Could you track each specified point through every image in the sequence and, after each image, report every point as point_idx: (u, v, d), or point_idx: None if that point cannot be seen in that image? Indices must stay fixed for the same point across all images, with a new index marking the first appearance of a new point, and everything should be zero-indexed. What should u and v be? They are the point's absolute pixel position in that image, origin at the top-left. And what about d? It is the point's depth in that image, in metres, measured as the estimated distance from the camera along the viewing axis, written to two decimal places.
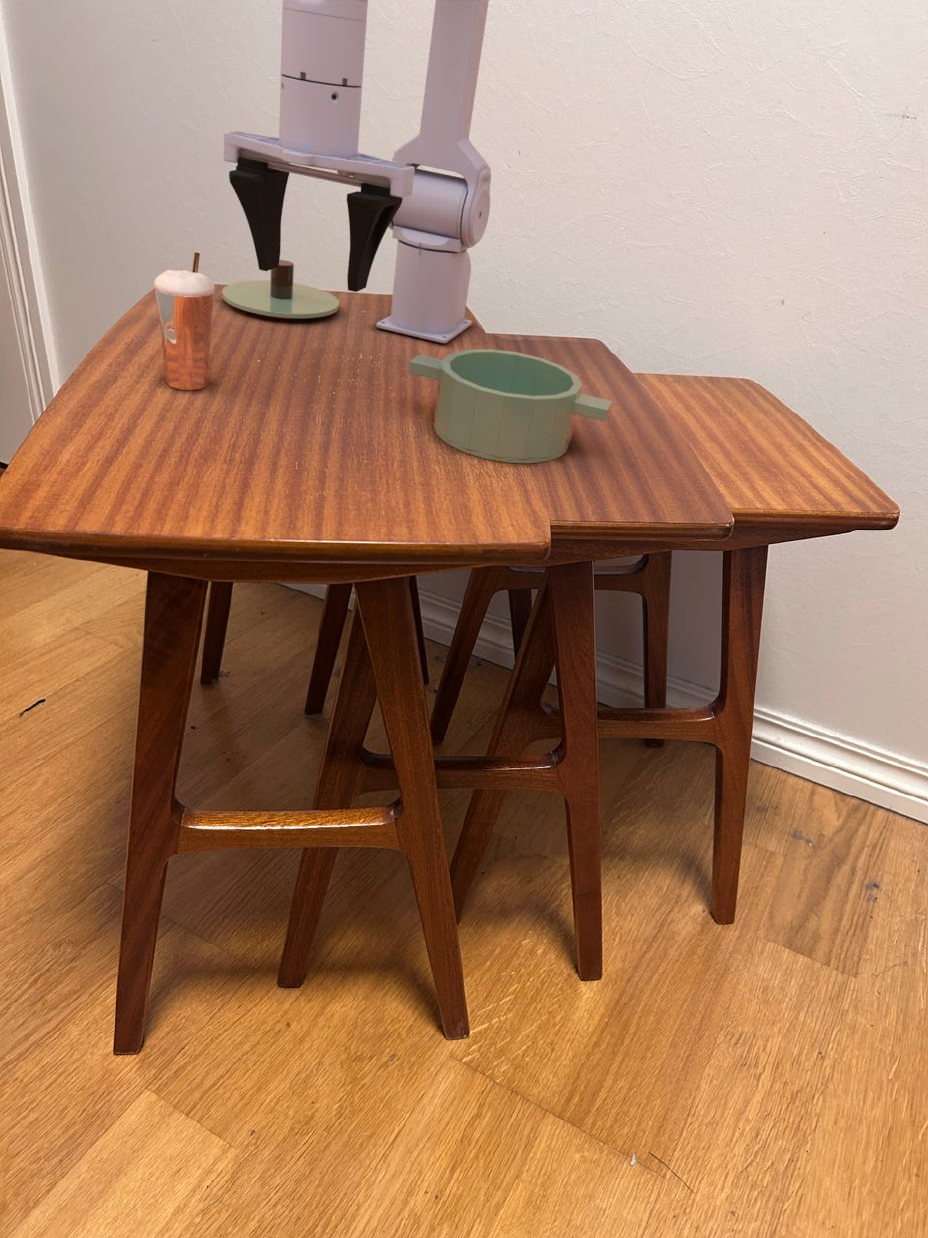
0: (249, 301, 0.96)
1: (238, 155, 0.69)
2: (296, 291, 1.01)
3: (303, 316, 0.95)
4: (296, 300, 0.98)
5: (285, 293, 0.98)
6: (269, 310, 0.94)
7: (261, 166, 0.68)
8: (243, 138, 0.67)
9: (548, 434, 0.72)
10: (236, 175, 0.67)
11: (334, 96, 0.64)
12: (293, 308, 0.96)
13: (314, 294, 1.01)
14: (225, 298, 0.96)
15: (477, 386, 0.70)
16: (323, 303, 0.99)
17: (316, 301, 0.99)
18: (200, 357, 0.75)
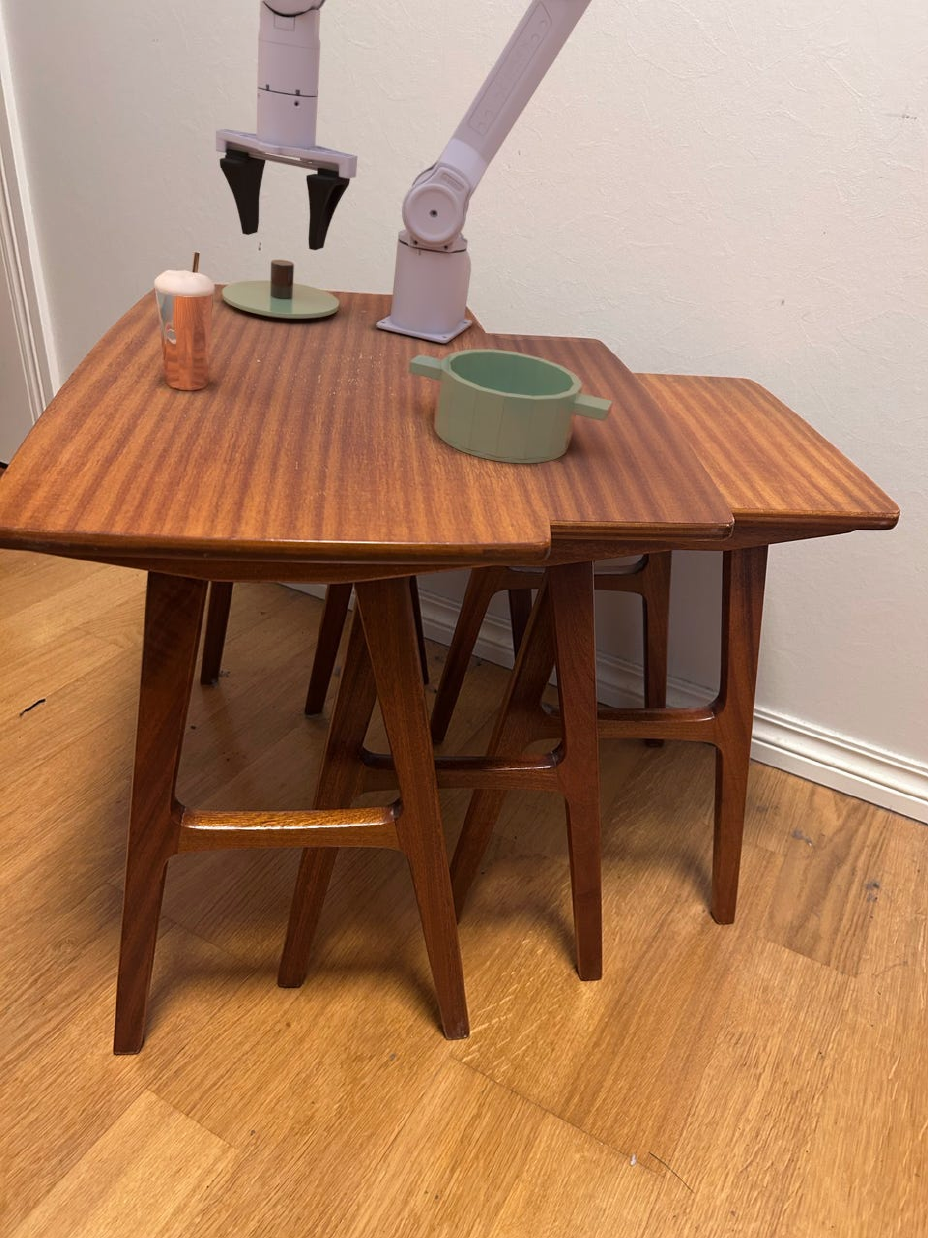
0: (249, 301, 0.96)
1: (226, 147, 0.92)
2: (296, 291, 1.01)
3: (303, 316, 0.95)
4: (296, 300, 0.98)
5: (285, 293, 0.98)
6: (269, 310, 0.94)
7: (243, 155, 0.92)
8: (230, 134, 0.91)
9: (548, 434, 0.72)
10: (225, 161, 0.91)
11: (296, 103, 0.87)
12: (293, 308, 0.96)
13: (314, 294, 1.01)
14: (225, 298, 0.96)
15: (477, 386, 0.70)
16: (323, 303, 0.99)
17: (316, 301, 0.99)
18: (200, 357, 0.75)
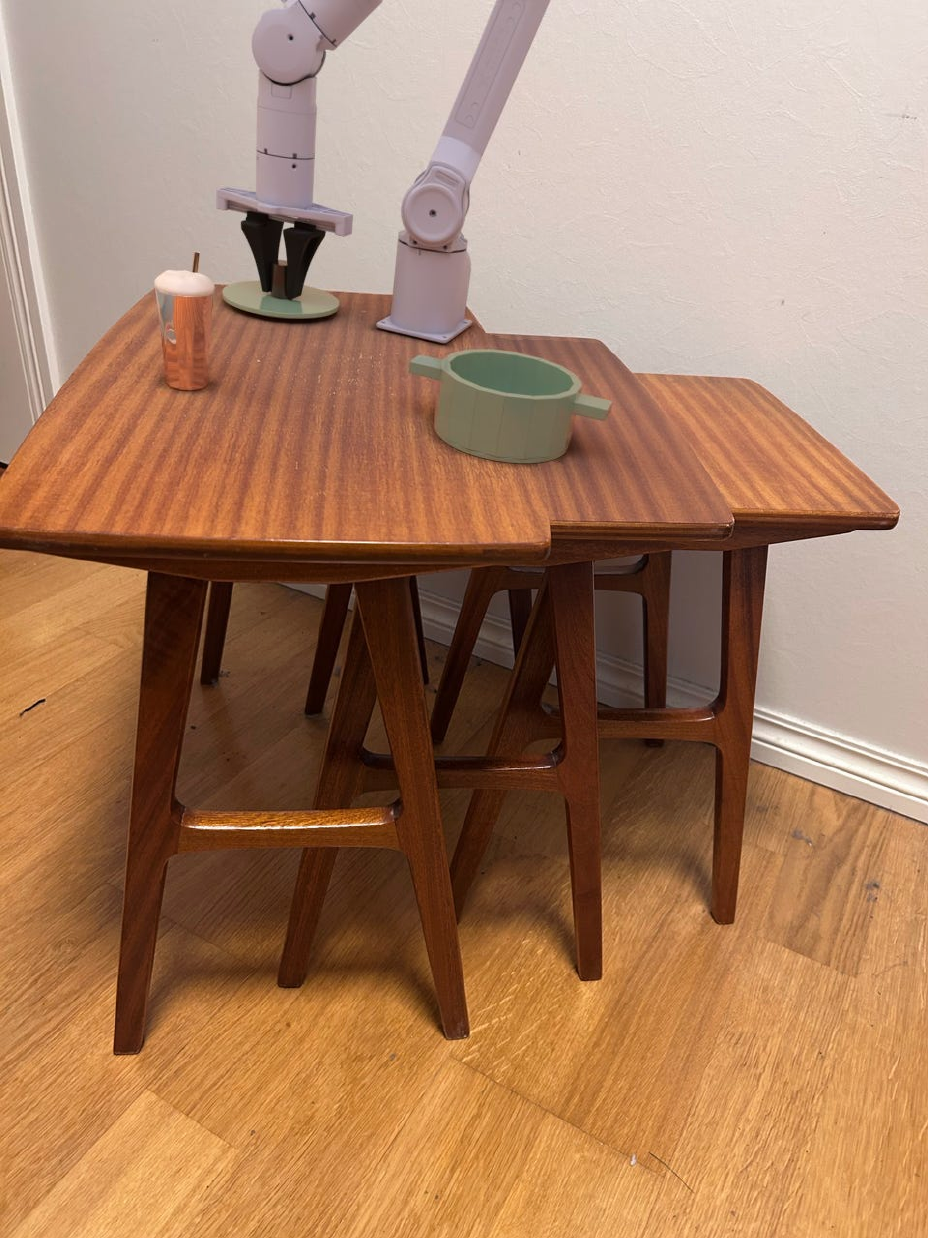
0: (249, 301, 0.96)
1: (227, 204, 0.95)
2: None
3: (303, 316, 0.95)
4: (296, 300, 0.98)
5: (285, 293, 0.98)
6: (269, 310, 0.94)
7: (264, 217, 0.94)
8: (230, 193, 0.94)
9: (548, 434, 0.72)
10: (246, 224, 0.93)
11: (294, 166, 0.90)
12: (293, 308, 0.96)
13: (314, 294, 1.01)
14: (225, 298, 0.96)
15: (477, 386, 0.70)
16: (323, 303, 0.99)
17: (316, 301, 0.99)
18: (200, 357, 0.75)
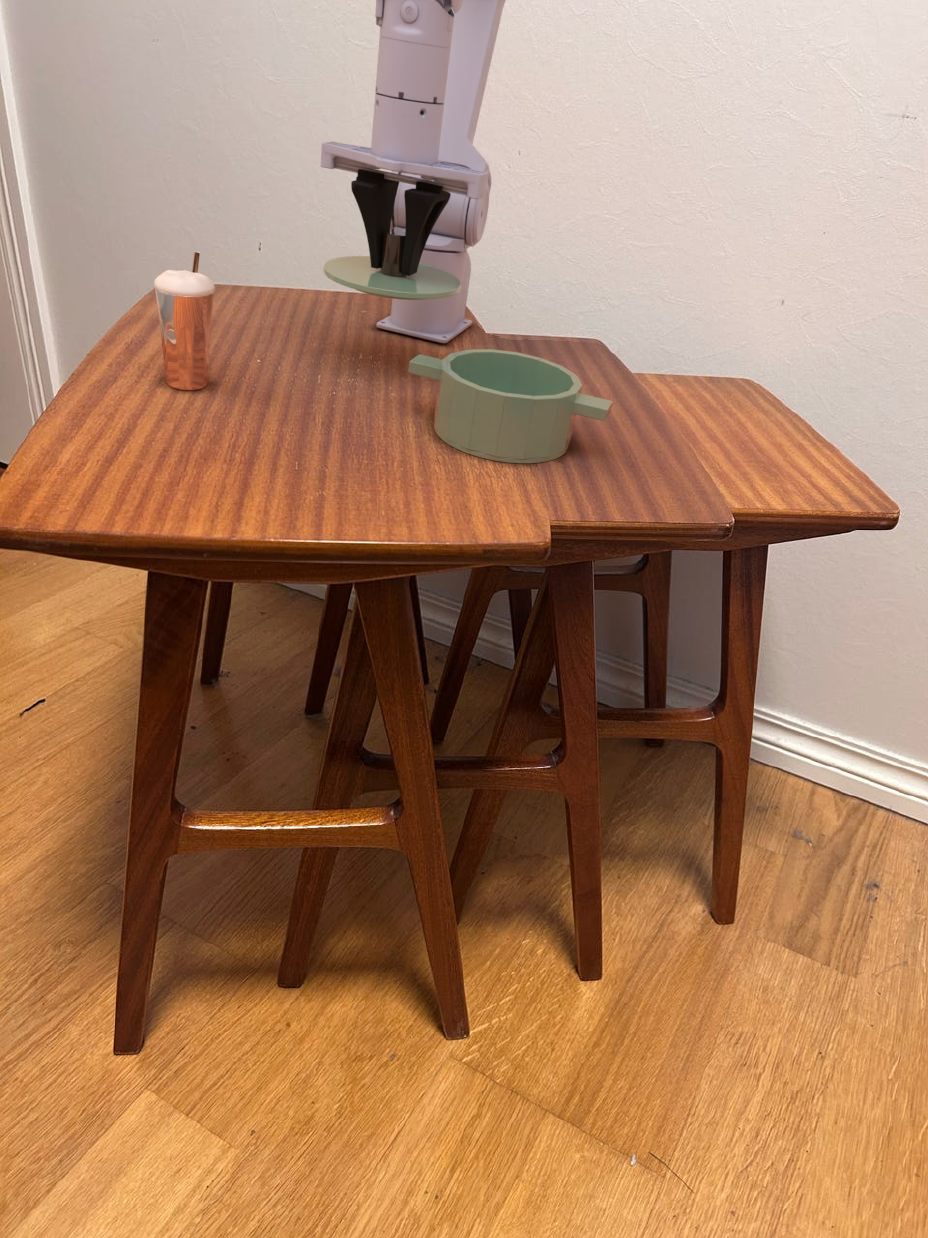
0: (359, 278, 0.79)
1: (333, 162, 0.79)
2: None
3: (424, 296, 0.79)
4: (411, 278, 0.82)
5: (399, 269, 0.82)
6: (385, 288, 0.78)
7: (379, 177, 0.78)
8: (339, 147, 0.78)
9: (548, 434, 0.72)
10: (358, 185, 0.77)
11: (422, 112, 0.74)
12: (411, 287, 0.80)
13: (429, 272, 0.85)
14: (329, 275, 0.80)
15: (477, 386, 0.70)
16: (443, 282, 0.83)
17: (434, 279, 0.83)
18: (200, 357, 0.75)
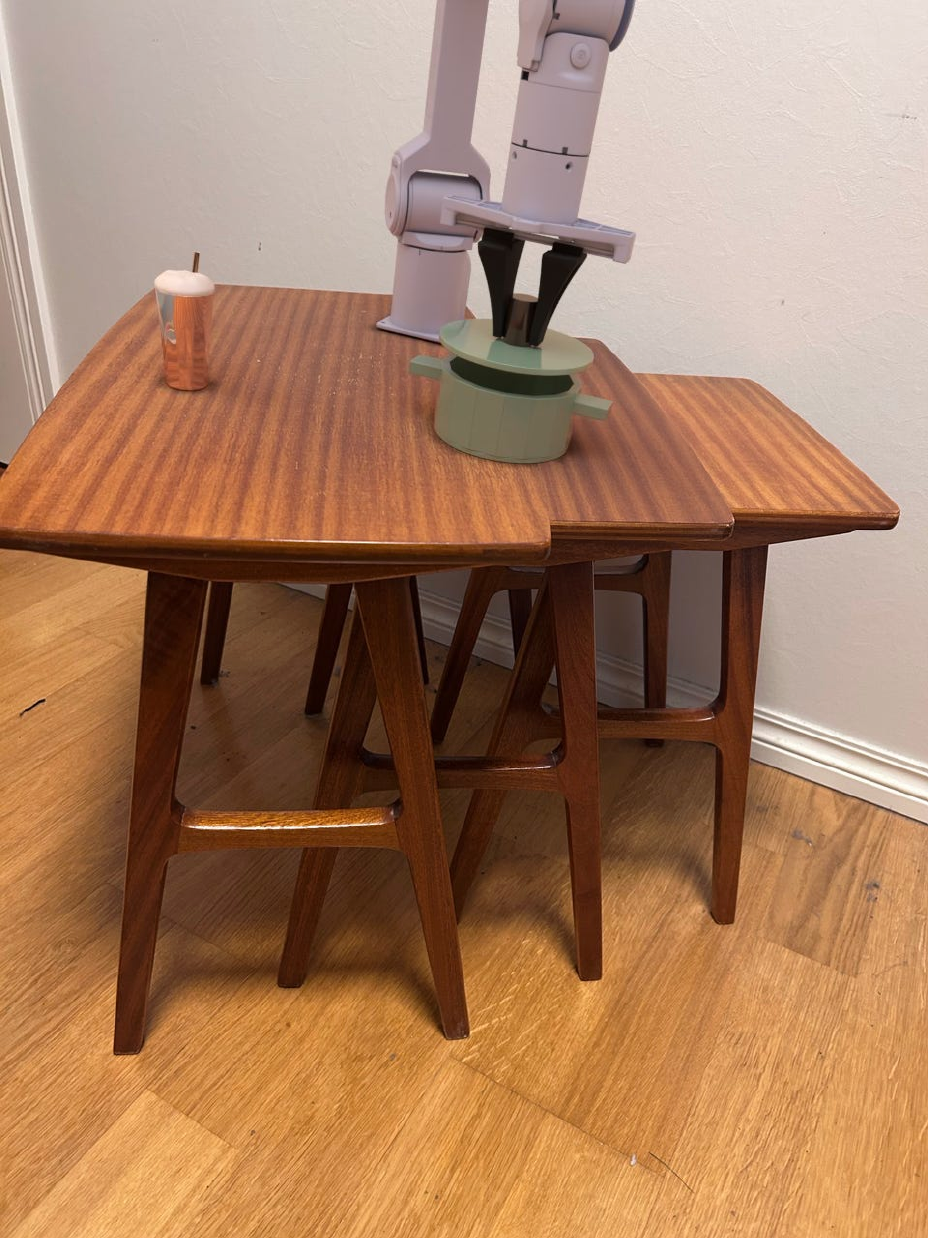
0: (484, 351, 0.70)
1: (455, 219, 0.69)
2: None
3: (561, 372, 0.69)
4: (539, 348, 0.72)
5: (526, 339, 0.72)
6: (517, 365, 0.68)
7: (508, 237, 0.68)
8: (463, 203, 0.68)
9: (548, 434, 0.72)
10: (487, 247, 0.67)
11: (566, 165, 0.64)
12: (544, 361, 0.70)
13: (553, 338, 0.75)
14: (450, 347, 0.70)
15: (477, 386, 0.70)
16: (574, 352, 0.73)
17: (563, 349, 0.73)
18: (200, 357, 0.75)
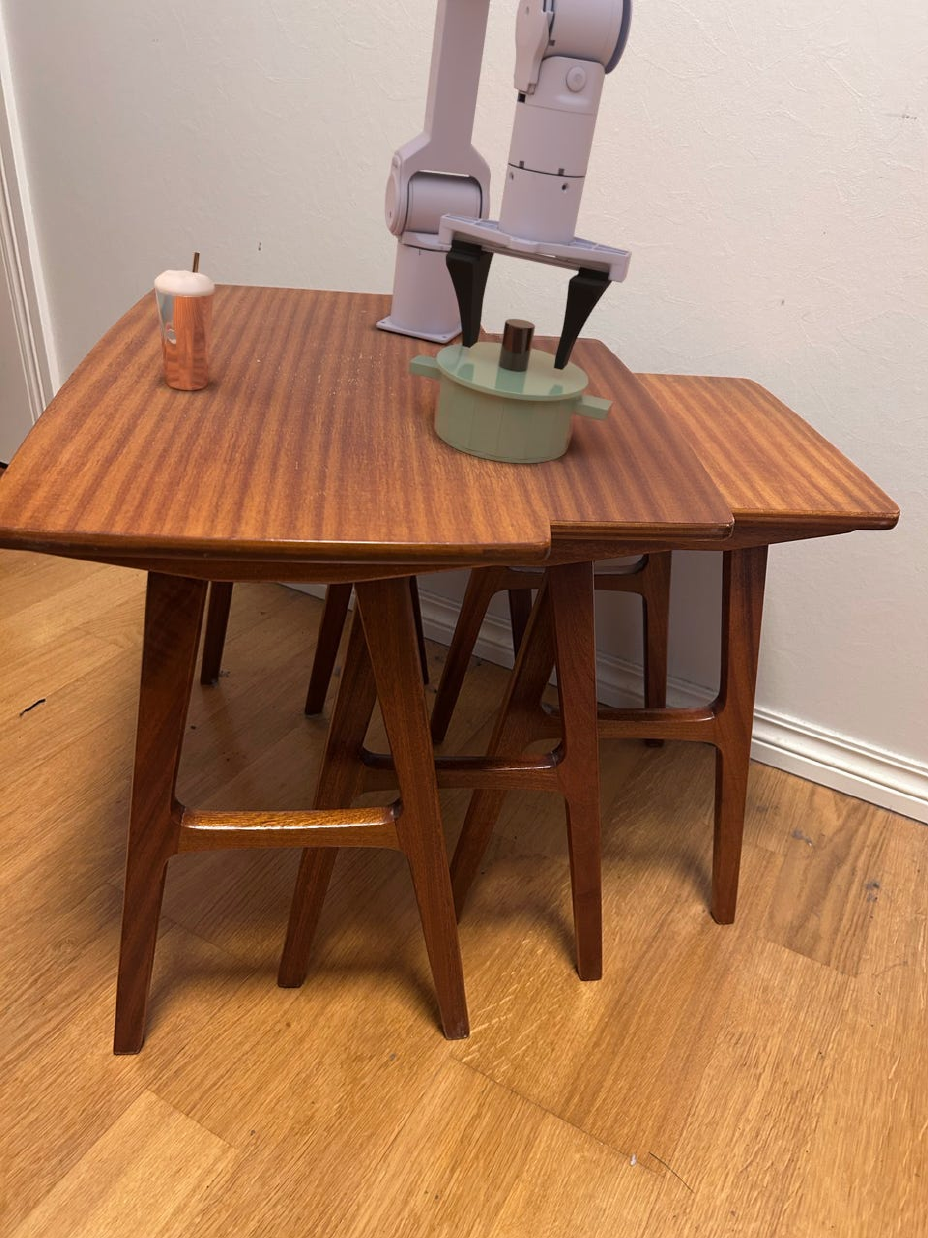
0: (480, 377, 0.71)
1: (452, 238, 0.70)
2: None
3: (556, 398, 0.70)
4: (534, 373, 0.73)
5: (521, 364, 0.73)
6: (513, 391, 0.69)
7: (476, 249, 0.70)
8: (461, 222, 0.69)
9: (548, 434, 0.72)
10: (455, 259, 0.69)
11: (563, 186, 0.65)
12: (539, 386, 0.71)
13: (549, 362, 0.76)
14: (446, 372, 0.71)
15: None
16: (569, 376, 0.74)
17: (558, 373, 0.74)
18: (200, 357, 0.75)
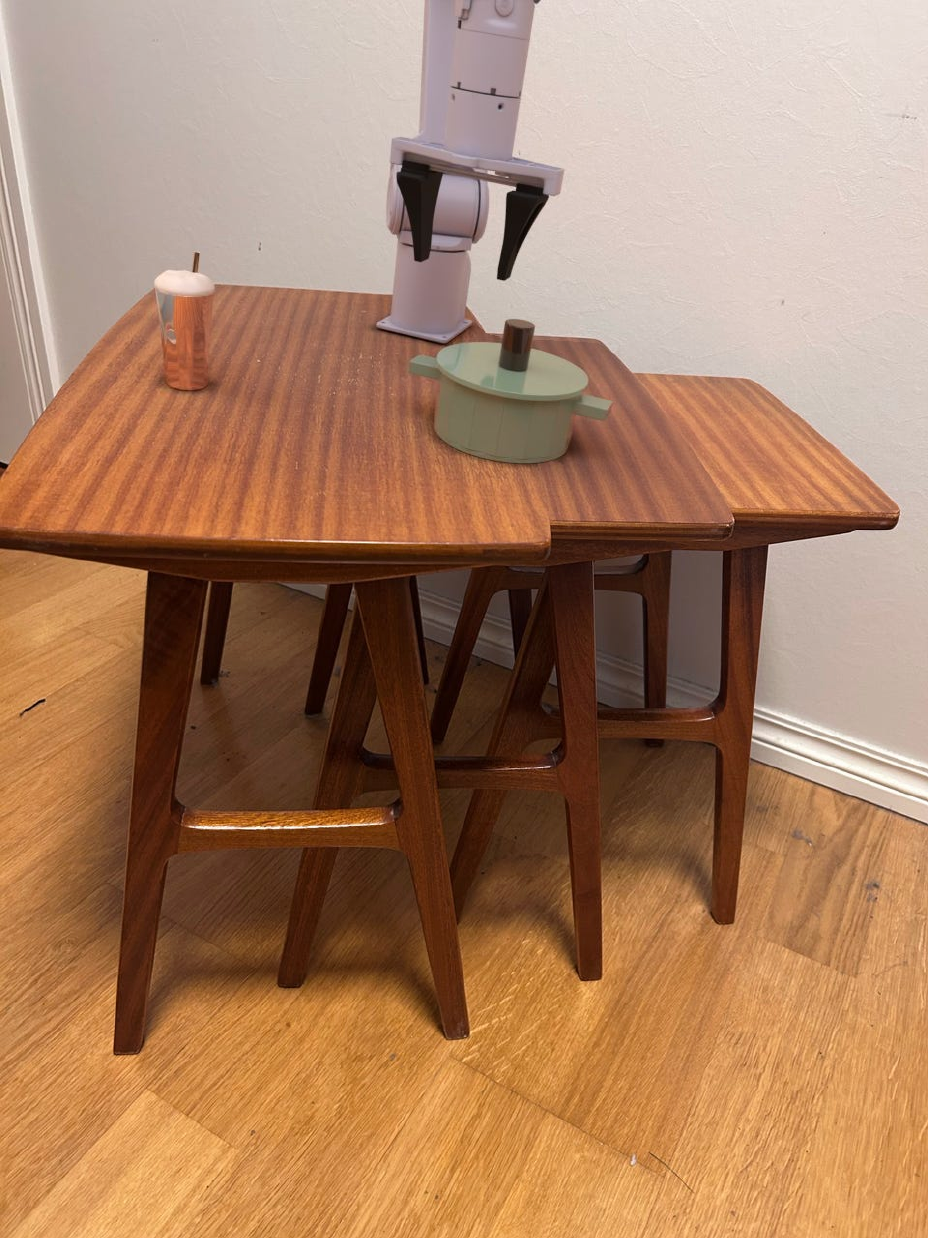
0: (480, 377, 0.71)
1: (403, 158, 0.77)
2: None
3: (556, 398, 0.70)
4: (534, 373, 0.73)
5: (521, 364, 0.73)
6: (513, 391, 0.69)
7: (424, 168, 0.77)
8: (410, 143, 0.76)
9: (548, 434, 0.72)
10: (404, 176, 0.76)
11: (499, 106, 0.72)
12: (539, 386, 0.71)
13: (549, 362, 0.76)
14: (446, 372, 0.71)
15: None
16: (569, 376, 0.74)
17: (558, 373, 0.74)
18: (200, 357, 0.75)
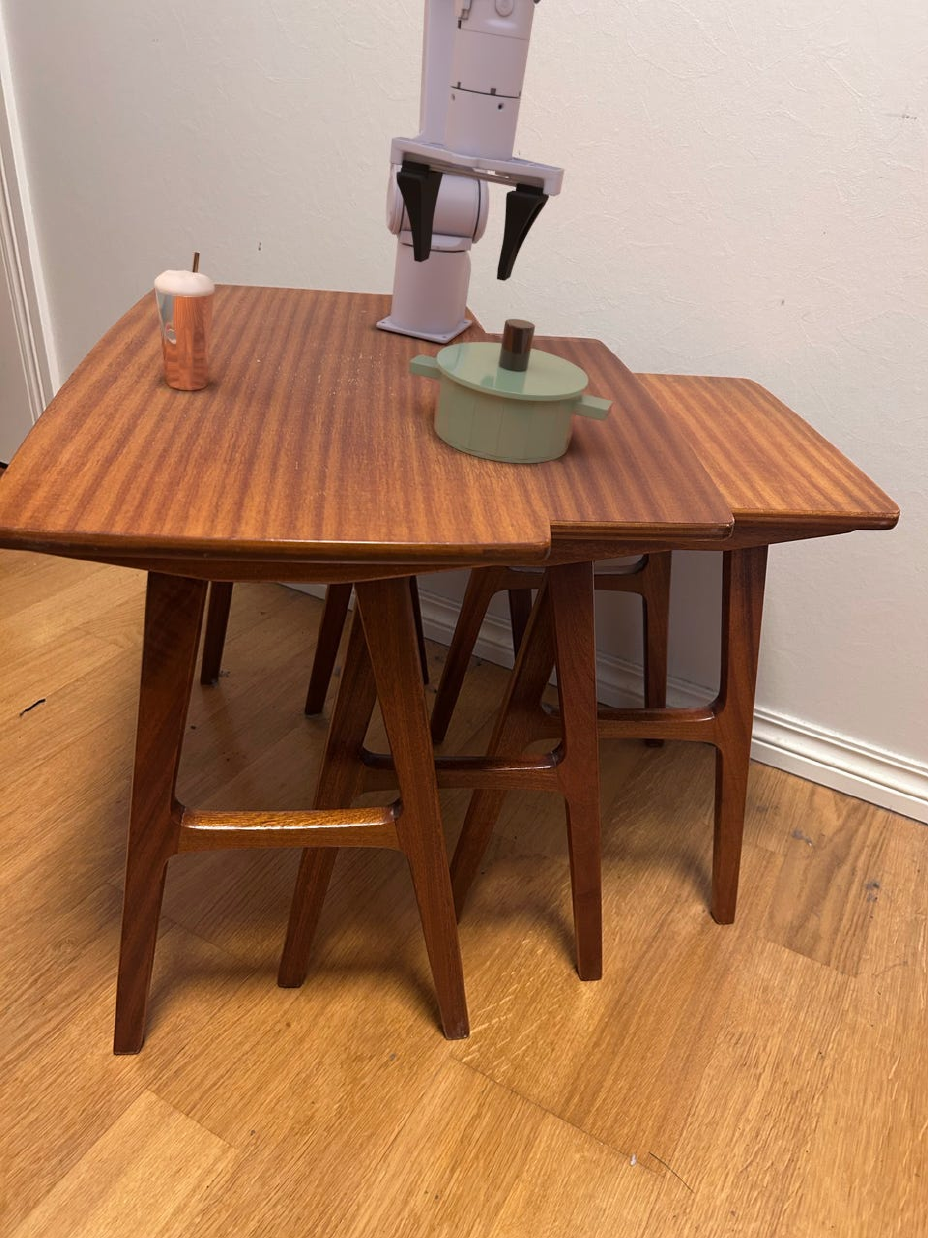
0: (480, 377, 0.71)
1: (403, 158, 0.77)
2: None
3: (556, 398, 0.70)
4: (534, 373, 0.73)
5: (521, 364, 0.73)
6: (513, 391, 0.69)
7: (424, 168, 0.77)
8: (410, 143, 0.76)
9: (548, 434, 0.72)
10: (404, 176, 0.76)
11: (499, 106, 0.72)
12: (539, 386, 0.71)
13: (549, 362, 0.76)
14: (446, 372, 0.71)
15: None
16: (569, 376, 0.74)
17: (558, 373, 0.74)
18: (200, 357, 0.75)
